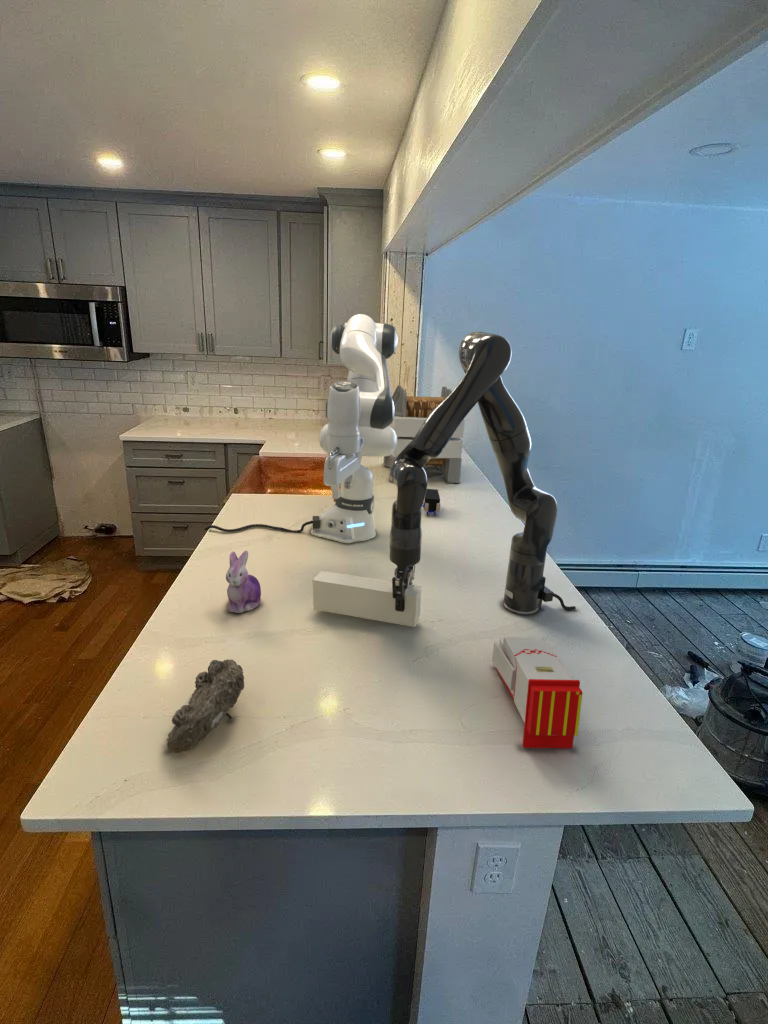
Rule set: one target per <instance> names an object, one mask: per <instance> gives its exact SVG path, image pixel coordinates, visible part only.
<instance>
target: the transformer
mask: <svg viewBox="0 0 768 1024" xmlns="http://www.w3.org/2000/svg"><path fill="white" fill-rule="evenodd" d="M452 391H453V390H452V389H451V388H447V386H442V387H441V392H440V393H441V394H440V396H415V395H414V396H413V395H412V396H411V395H407V394H408V393H407V390H406V389H404V388H403V387H402V385H399V384H398V385H397V386H396V388H395V390H394V392H393V394H392V399H393V402H394V407H395V415H394V419H393V422H392V423H391V424H390V425H389V426H390V427H392V428H393V430H394V431H395V433H396V435H397V446H396V449H395V450H394V452H393V453H392V454H391V455H390V456H384V457H383V466H384V467H388V468H389V470H390V469H391V466H392V464H393V462H394V460H395V459H396V457H397V456H398V455H399V454H400V453H401V452H402V451H403V449H404V448H405V447H406V446H407V445H408V444H409V443H410V442H411V441H412V440H413V439H414V438H415V436H416V434H417V433H418V431H419V429H420V428H421V426H422V424H423V423H424V421H425V420H426V418H427V417H428V415H429V414H430V413H431V412H432V411H433V409H434V408H435V407H436V406H437V405H438V404H440V403H441V402H442V401H443V400H444V399H445V398H446V397H447V396H448V395H449V394H450V393H451V392H452ZM464 429H465V418H464V419H463V421H462V422H461V423H460V425H459V426H458V428H457V429H456V431H455V432H454V434H453V435H452V437H451V438H450V440H449V442H448V443H447V445H446V446H445V448H444V449H443V451H442V452H441V454H440V455H439V456H438V457H437V458H434V459H430V460H429V461H428V462H427V463H426V464H425V465H424V467H436V468H437V470H438V469H439V473H440V474H441V475H443V478H444V479H445V481H446V482H447V483H449V484H455V483H456V484H459V483H461V472H462V461H463V460H462V453H463V442H464V441H463V440H462V439H463V438H464V431H465V430H464ZM388 476H389V477H388V478H389V480H390V482H391V483H393V481H392V480H391V477H390V474H389V475H388Z"/></svg>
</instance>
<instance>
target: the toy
mask: <svg viewBox="0 0 768 1024" xmlns="http://www.w3.org/2000/svg"><path fill="white" fill-rule="evenodd" d="M491 662H492V663H493V665H494V667H495V669H496V671H497V673H498V675H499V676H500V678H501V680H502V683H503V684H504V686H505V688H506V689H507V691H508V693H509V695H510V697H511V698H512V700H513V702H514V705H515V707H516V709H517V711H518V713H519V715H520V717H521V719H522V722H523V724H524V725H523V736H522V748H524V749H573V747H574V738H575V736H577V737H578V734H579V725H580V717H581V710H582V709H581V708H582V701H583V700H582V699H583V690H582V689H581V688H580V685H581V681H580V679H574V677H573V676H572V675H571V673H570V672H569V670H568V669H567V668H566V667H565V665H564V664H563V662H562V661H561V660H560V658H559V657H558V656H557V654H556V653H555V651H554V650H553V649H552V647H551V645H550V643H549V642H547V640H546V639H545V637H543V636H542V637H541V636H535V637H534V636H503V637H500V638H499V642H498V643H497V642H494V643H493V649H492V657H491Z"/></svg>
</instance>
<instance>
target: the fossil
mask: <svg viewBox="0 0 768 1024" xmlns="http://www.w3.org/2000/svg"><path fill="white" fill-rule="evenodd" d="M243 670H244V669H243V667H242V665H240V664H237V662H236V661H235V660H234V659H232V658H231V659H227V658H226V659H224V660H223V661H222V660H217V659H212V660H211V661H210V663H209V665H208V666H207V671H201V672H199V673H198V674H197V675H196V676H195V680H194V684H195V685H194V687H195V689H194V690H193V693H192V694H191V697H190V698H189V700H188V704H184V705H182V706H181V707H180V709H177V710H176V711H175V713H174V715H173V716H172V718H171V723H172V724H173V727H172V730H171V731H170V732H168V734H167V738H166V741H167V742H166V745H167V749H168V750H169V751H173V752H174V753H176V754H178V753H182V752H188V751H189V752H192V751H193V750H195V748H196V747H197V746H199V744H200V743H201V742H203V741H204V740H205V739H206V738H207V737H208V736H209V735H210V734H211V733H212V732H214V730H215V729H217V727H218V726H219V724H220V722H221V721H222V720H223V719H224V718H225V716H226V717H227V719H229V720H233V717H232V715H230V714H229V710H230V709H231V708H234V706H235V704H236V703H237V702H238V699H239V697H240V695H241V693H242V691H243V690H245V689H244V688H245V675H244V671H243Z"/></svg>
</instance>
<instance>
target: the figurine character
mask: <svg viewBox="0 0 768 1024" xmlns="http://www.w3.org/2000/svg"><path fill="white" fill-rule="evenodd" d="M422 508H423V511H424V512H425V513H426V516H427V517H428V516H430V515H429V514H433V516H434V517H436V516H437V513H440V512H441V498H440V493H439V489H435V488H427V491H426V495H425V499H424V503H423V506H422Z"/></svg>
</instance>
